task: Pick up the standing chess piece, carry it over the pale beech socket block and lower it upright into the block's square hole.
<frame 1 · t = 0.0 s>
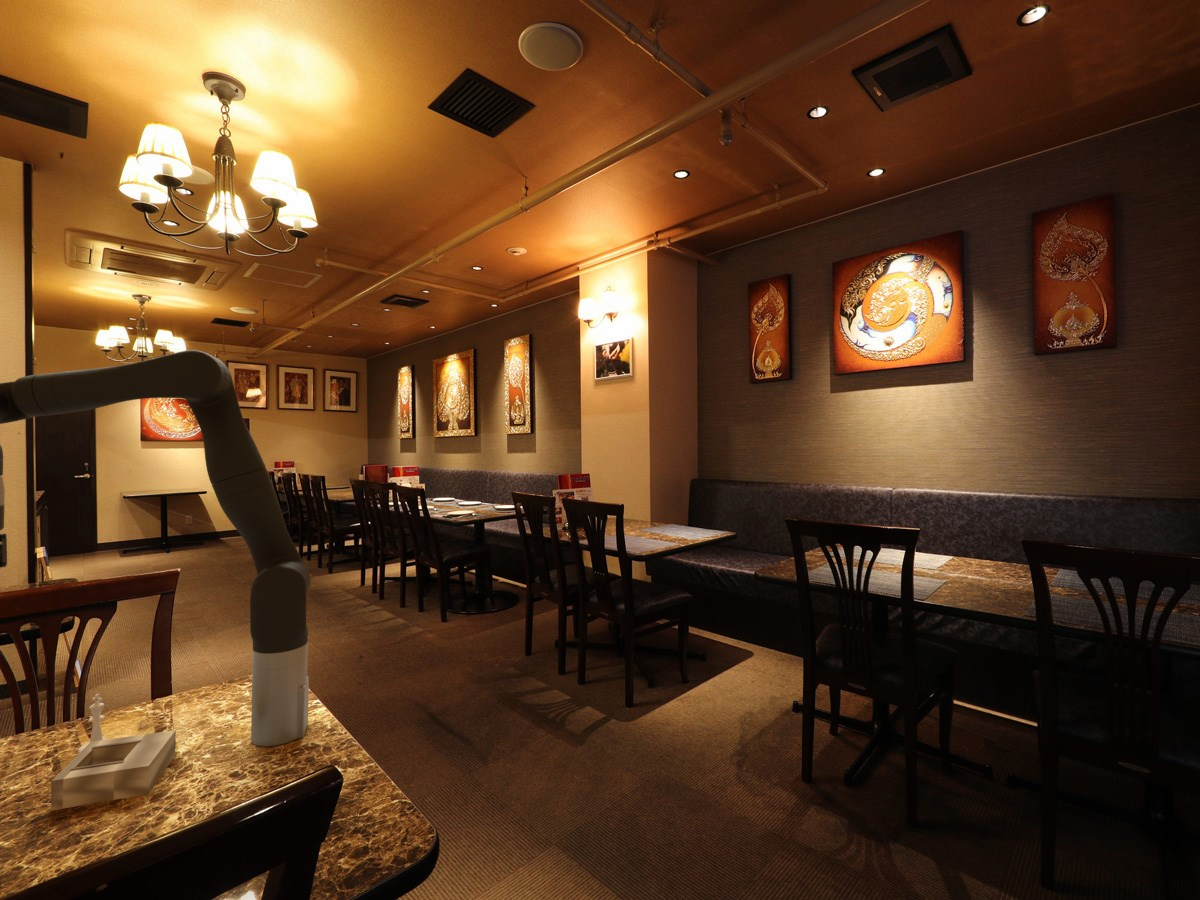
socket block: (118, 780, 91), on the table
chess piece: (96, 750, 100), on the table
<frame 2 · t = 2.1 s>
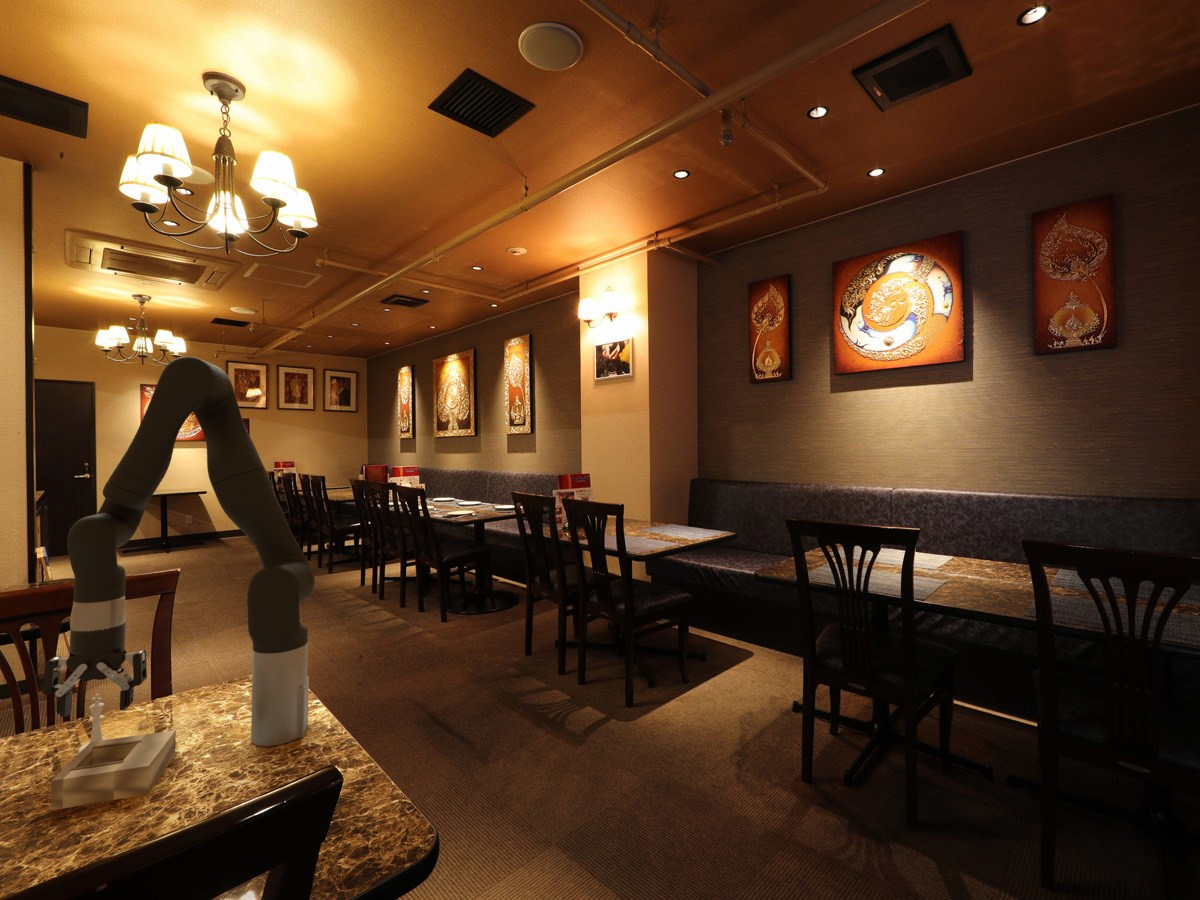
hand: (95, 711, 101), 7 cm above the table, fingers open, 8 cm apart
nothing on the table moved.
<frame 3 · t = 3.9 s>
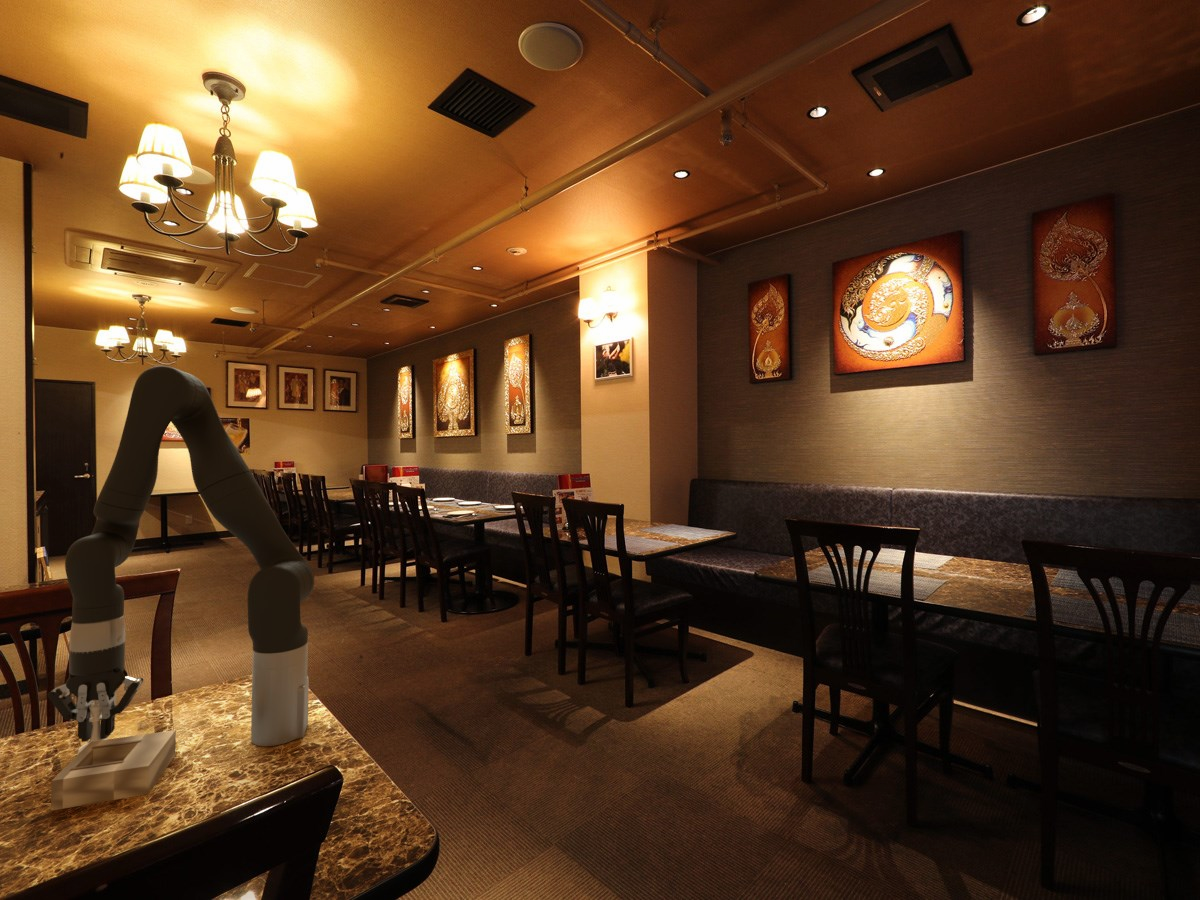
hand: (96, 737, 100), 2 cm above the table, fingers closed on chess piece
chess piece: (96, 750, 100), on the table, touching gripper
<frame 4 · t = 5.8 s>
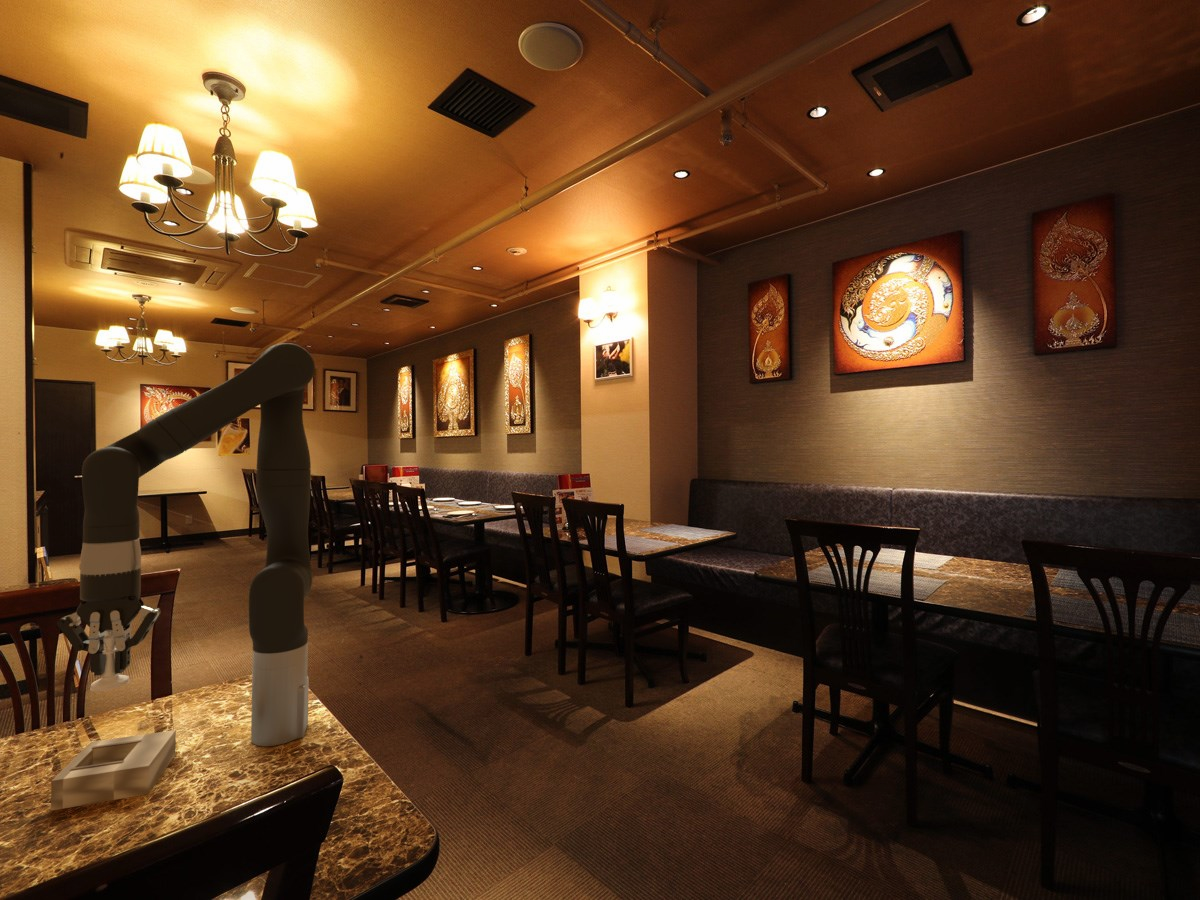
hand: (110, 672, 91), 18 cm above the table, fingers closed on chess piece
chess piece: (110, 686, 91), point 16 cm above the table, touching gripper
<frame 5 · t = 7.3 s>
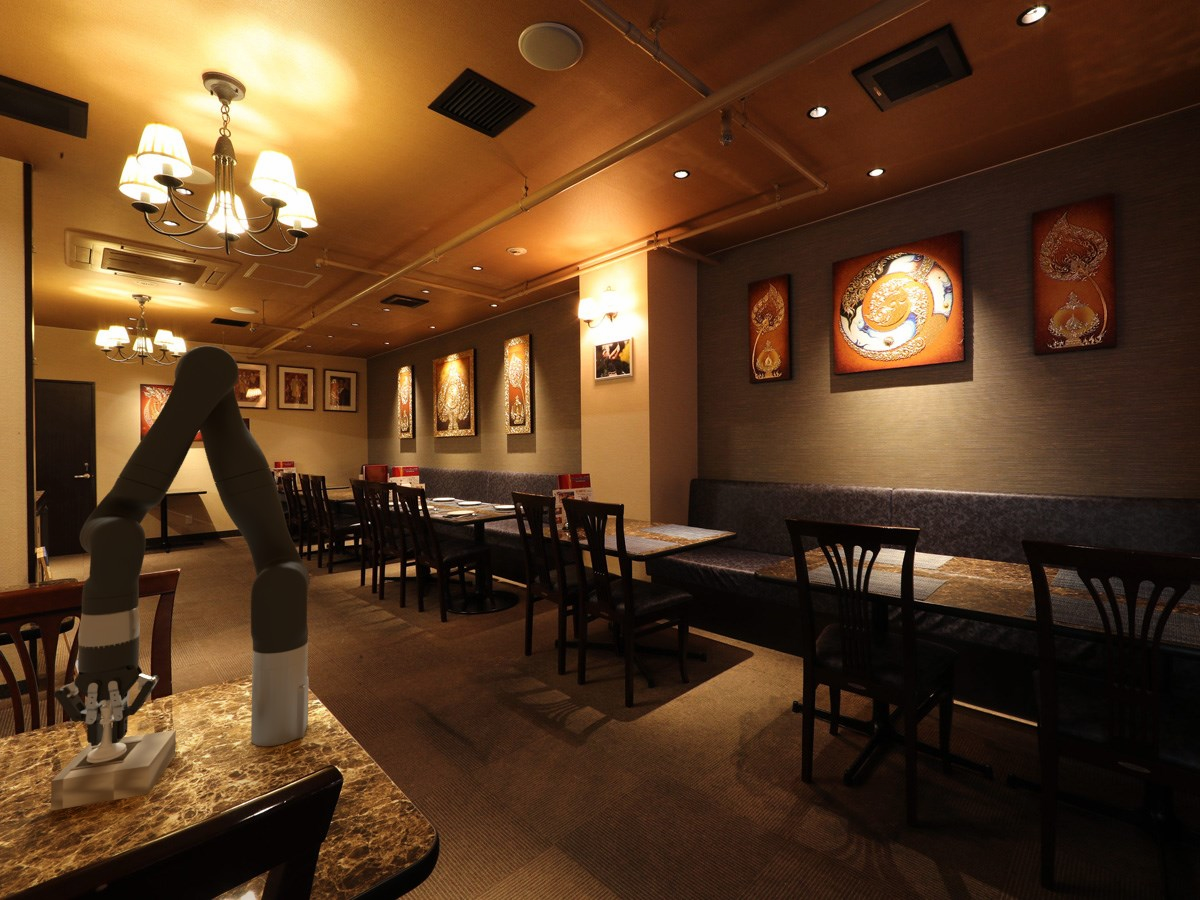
hand: (107, 741, 91), 7 cm above the table, fingers closed on chess piece
chess piece: (106, 755, 91), point 4 cm above the table, touching gripper
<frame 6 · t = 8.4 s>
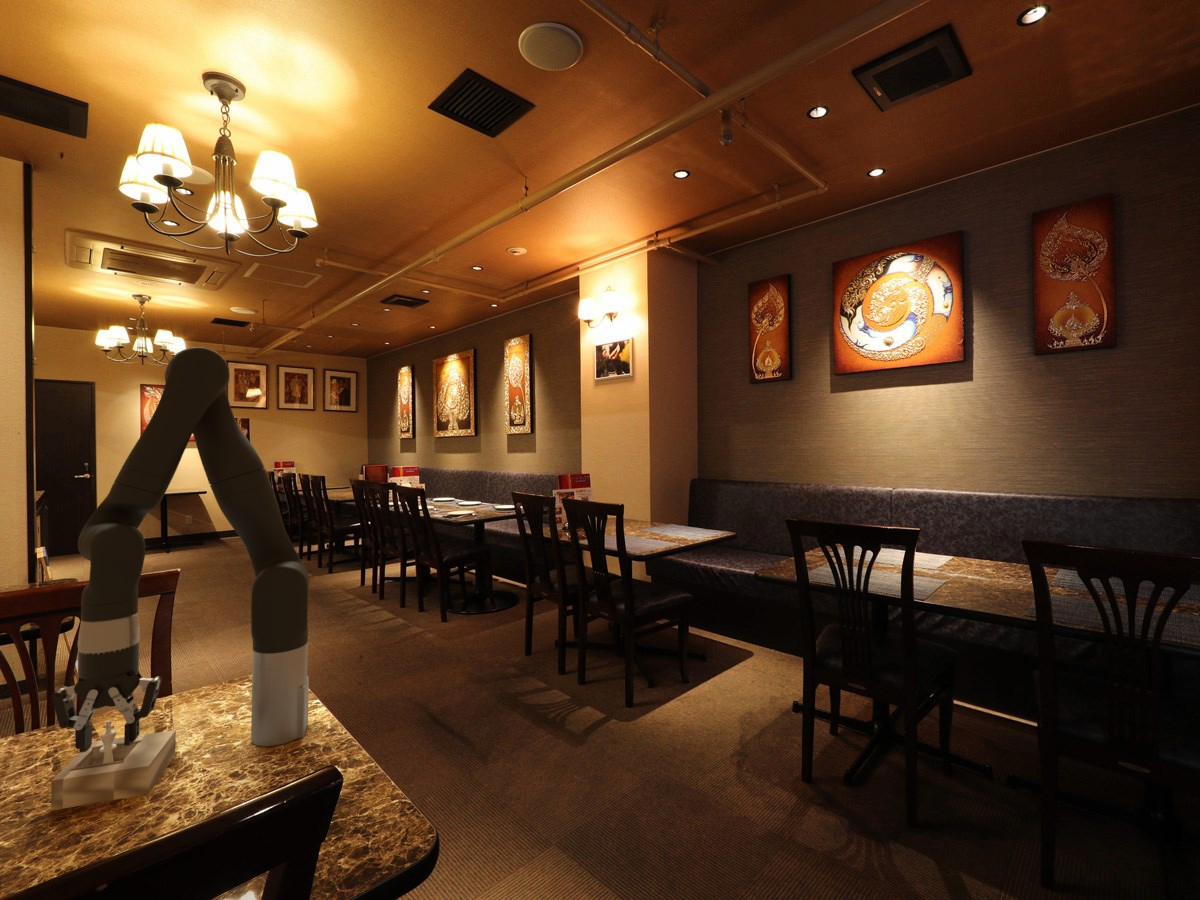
hand: (107, 746, 91), 6 cm above the table, fingers open, 5 cm apart
chess piece: (107, 783, 91), resting in socket block
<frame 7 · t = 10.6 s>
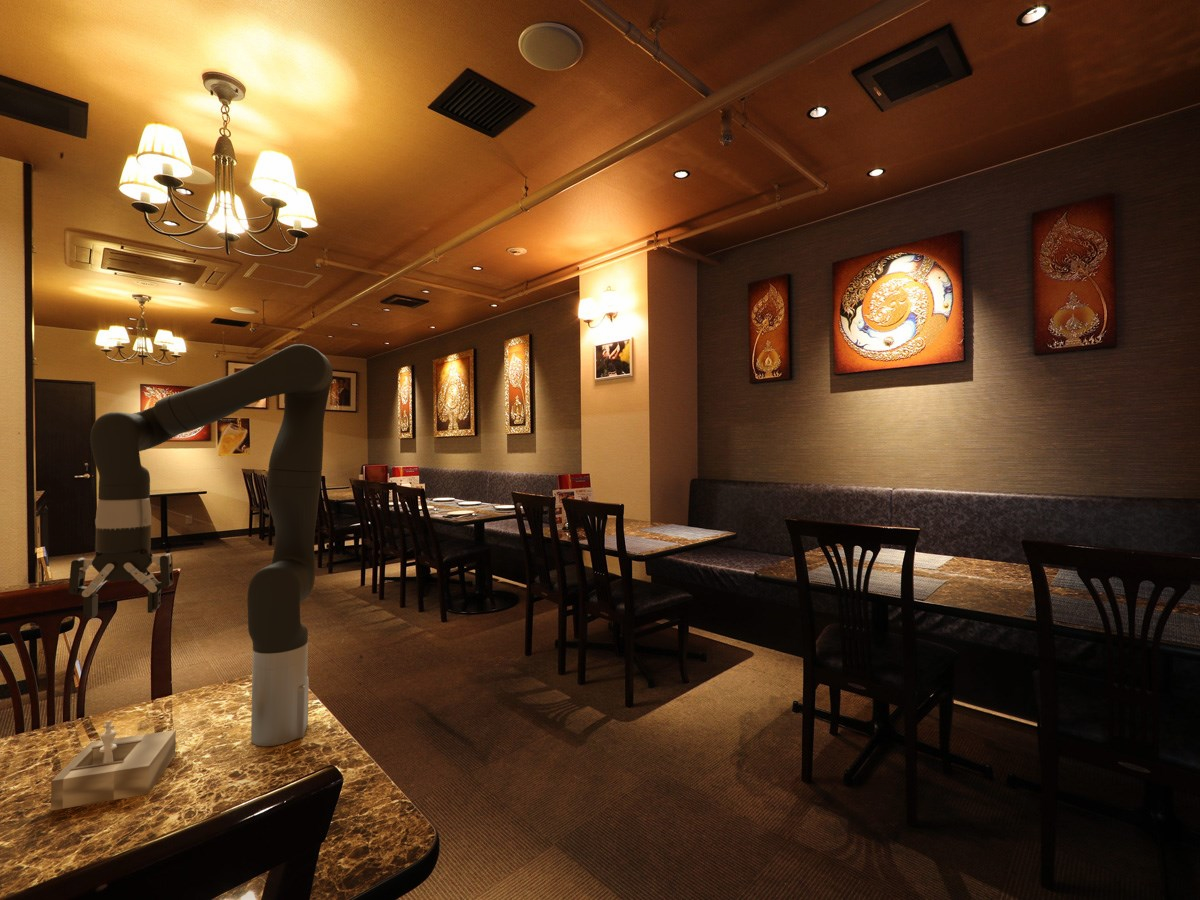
hand: (122, 614, 99), 25 cm above the table, fingers open, 8 cm apart
nothing on the table moved.
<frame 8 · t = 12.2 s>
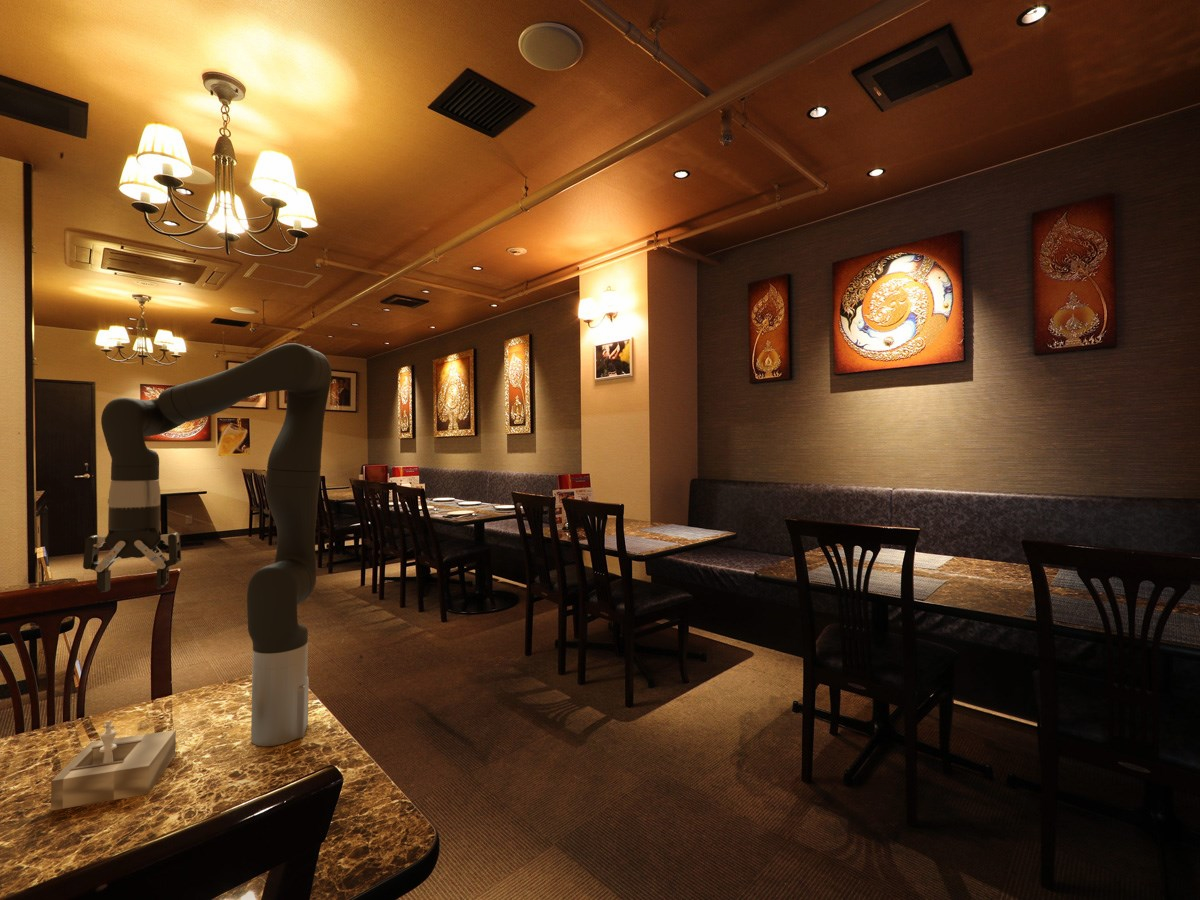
hand: (133, 589, 105), 28 cm above the table, fingers open, 8 cm apart
nothing on the table moved.
at the end: chess piece 0.1 cm from the target spot on the socket block, point 0.0 cm above the socket block's base; chess piece tilted 0°; the gripper is holding nothing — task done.
